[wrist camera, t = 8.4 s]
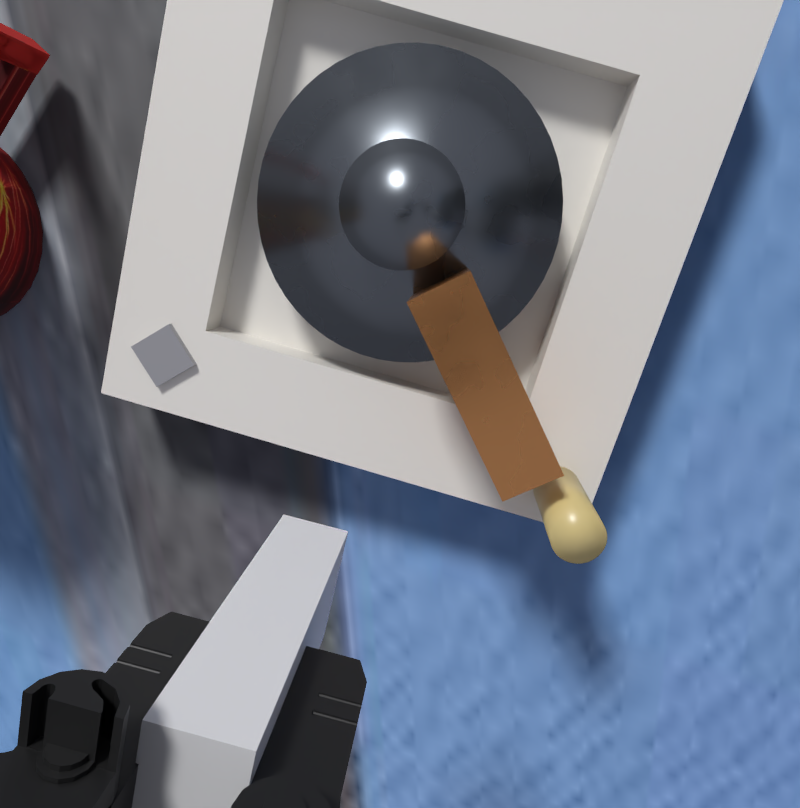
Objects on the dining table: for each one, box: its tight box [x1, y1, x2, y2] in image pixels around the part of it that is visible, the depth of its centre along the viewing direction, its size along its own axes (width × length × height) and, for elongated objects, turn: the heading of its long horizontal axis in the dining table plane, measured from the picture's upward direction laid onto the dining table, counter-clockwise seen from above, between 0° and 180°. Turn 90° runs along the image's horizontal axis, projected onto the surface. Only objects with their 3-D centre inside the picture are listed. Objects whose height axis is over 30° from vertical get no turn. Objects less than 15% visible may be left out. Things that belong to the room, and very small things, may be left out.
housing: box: [101, 0, 784, 564], centre depth 25 cm, size 22×22×9 cm
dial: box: [257, 42, 564, 502], centre depth 25 cm, size 17×12×6 cm
